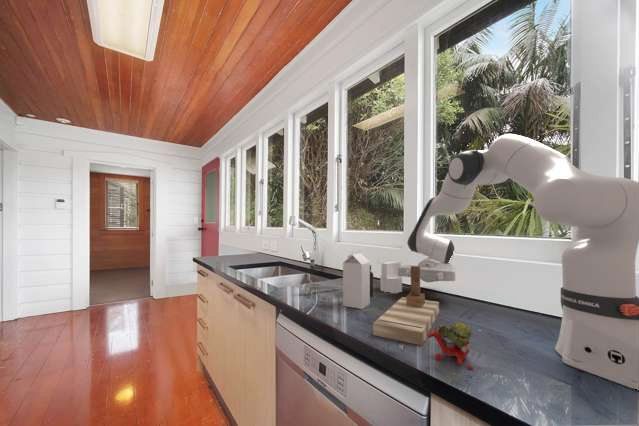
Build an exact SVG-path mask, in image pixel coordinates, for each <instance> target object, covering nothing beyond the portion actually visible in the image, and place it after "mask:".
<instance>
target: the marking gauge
mask: <svg viewBox="0 0 639 426" xmlns="http://www.w3.org/2000/svg"><path fill="white" fill-rule="evenodd" d="M425 297H426V296H425V293H421V279H420V266H417V265H413V266H411V277H410V292H409V293H408V294H407V295H406V297H405V298H406V304H407V306H411V307H418V308H422V306H423V305H424V304H425V300H426V298H425Z"/></svg>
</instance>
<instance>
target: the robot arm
mask: <svg viewBox="0 0 639 426" xmlns="http://www.w3.org/2000/svg"><path fill="white" fill-rule="evenodd" d="M511 181H513V182H515V183H516V184H517V185H519V186H520V187H522V188H523V189H524V190H526V192H528V193H529V194H530V195H531V196H532V197H533V208H534V210H535V212H536V214H537V215H538V216H539V218H541V219H543V220H544V221H546V222H548V223H549V222H550V223H552V224H555V225H559V226H563V227H569V228H576V232H575V235H574V237H573V240H572V242H571V243H570V244H569V245H568V246H567V247H566V248H565V249H564V251H563V252H562V255H561V263H562V264H561V267H562V269H561V271H562V287H560V307H561V309H562V314H561V324H560V325H561V326H560V330H559V334H558V339H557V341H556V342H557V343H556V345H555V347H554V350H555V351H556V353H558V355H560V356H561V361H562V363H564V364H565V365H568V366H571V367H573V368H576V369H579V370H582V371H584V372H586V373H589V374H592V375H596V376H598V377H600V378H603V379H606V380H609V381H611V382H614V383H616V384H619V385H622V386H624V387H627V388H630V389H633V388H634V389H633V390H635V389H637V390H636V391H638V390H639V296H637V289H636V285H637V283H636V282H637V281H636V260H637V259H636V258H637V251H638V247H639V181H637V180H633V179H631V178H627V177H616V176H615V177H614V176H602V175H595V174H591V173H588V172H585V171H583V170H581V169H579V168H578V167H576V166H575V165H573V164H572V161H571V158H570V157H568V155H565V154H564V153H562V152H560V151H557V150H555V149H553V148H552V147H549V146H547V145H545V144H543V143H541V142H539V141H537V140H534V139H532V138H529V137H525V136H522V135H518V134H514V133H506V134H503V135H500V136H499V137H497V138H496V139H495V140H493V141H492V143H491V144H490V145H489V148H488V149H485V150H482V149H481V150H478V149H474V150H467V151H462V152H458V153H456V154H454V155H453V156H452V157H451V159H450V161H449V163H448V165H447V174H446V175H445V177H444V179H443V183H442V186H441V188H440V189H441V190H440V191H439V193H438V194H437V195H436V196H435V197H431V198H430V199H429V200H428V201H427V203H426V204H425V206H424V208H423V210H422V212H421V214H420V216H419V218H418V220H417V222H416V224H415V225H414V228H413V230H412V231H411V233H410V234H409V236H408V239H407V243H406V244H407V247H408V248H409V250H410V251H411V252H414V253H418V254H421V255H424V256H426V257H427V258H424V259H422V260H421V261H419V262H418V263H417V265H416V266H420V281H423V282H425V283H435V282H455V281H456V269H455V267H454V266H453V264H452V263H448V262H449V260H450V258H451V256H452V255H453V256H454V254H453V251H454V252H455V245H454V243H453V241H452V240H451V239H448V238H445V237H443V236H440V235H437V234H434V233H431V232H428V231H427V230H426V228H427V226H428V224H429V222H430V221H431V218H433V217H436V216H451V215H452V216H453V215H458V214H462V213H463V212H465V211H466V210H467V209H468V208H469V207H470V204H471V203H472V200H473V198H474V195H475V192H476V188H477V187H478V186H490V185H502V184H506V183H510V182H511ZM411 266H414V265H412V264H409V265H408V264H403V265H401V266H399V267H398V275H399V276H401V277H405V278H411Z"/></svg>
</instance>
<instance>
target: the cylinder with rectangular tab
mask: <svg viewBox="0 0 639 426" xmlns="http://www.w3.org/2000/svg"><path fill="white" fill-rule="evenodd" d="M401 264H402V263H401V262H400V261H389V262H381V268H380V269H381V275H380V276H379V277H380V291H381V292H382V291H384V292H383V293H386V292H390V293H389V294H400V293H399V292H401V293H402V292H403V276H399V275H398V267H399V266H402V265H401Z"/></svg>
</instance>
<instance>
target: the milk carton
mask: <svg viewBox="0 0 639 426" xmlns="http://www.w3.org/2000/svg"><path fill="white" fill-rule="evenodd" d="M370 265H371V262H370V261H369V259H367V258H366V257H365V256H364V255H363V253H362V251H361V249H360V250H354V251H351V253H350V254H348V256H347V259H345V260H344V262H342V287H343V290H342V306H344V307H348V308H353V309H359V310H363V309H364V308H366V307H368V306H369V305H371V301H370V300H371V296H370Z"/></svg>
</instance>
